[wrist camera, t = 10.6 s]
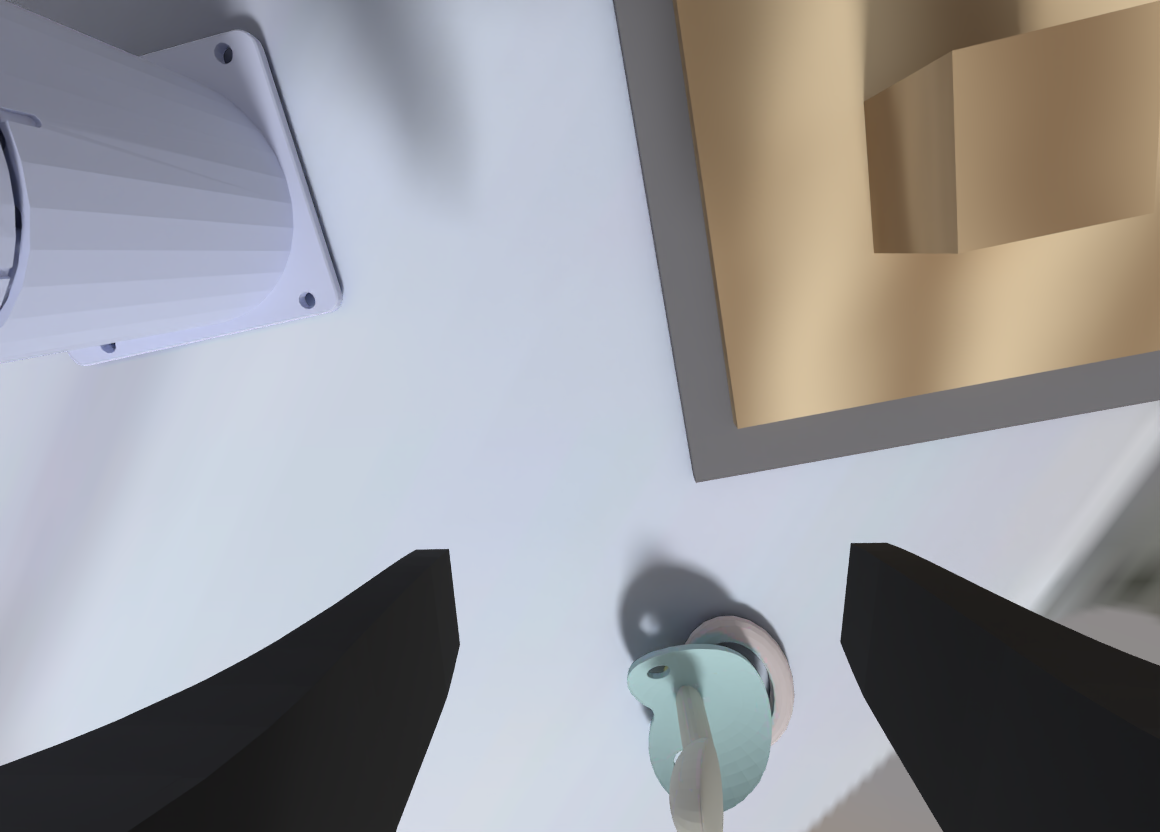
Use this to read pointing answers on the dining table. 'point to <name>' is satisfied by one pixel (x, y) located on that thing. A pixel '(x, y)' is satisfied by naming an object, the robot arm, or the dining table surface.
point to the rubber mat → (698, 331)
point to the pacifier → (713, 717)
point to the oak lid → (923, 191)
